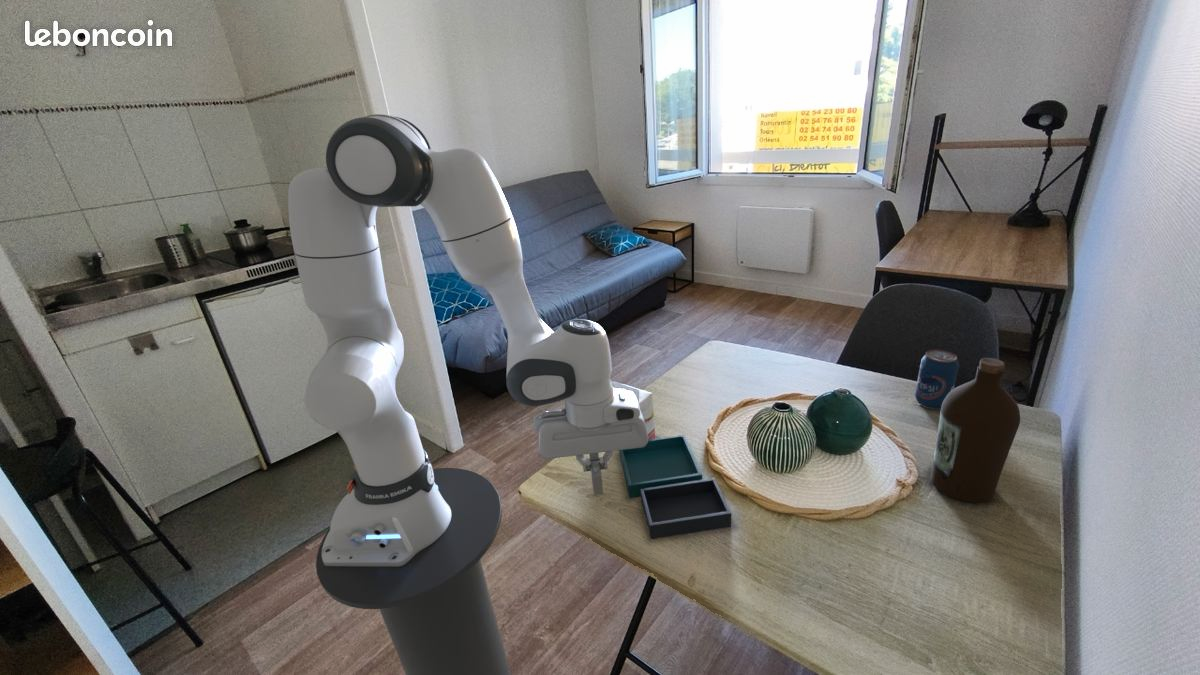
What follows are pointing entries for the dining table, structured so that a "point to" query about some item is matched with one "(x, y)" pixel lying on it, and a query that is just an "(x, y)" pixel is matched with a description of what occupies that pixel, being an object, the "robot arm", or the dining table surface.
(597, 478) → the lighter
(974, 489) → the brown bottle
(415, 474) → the robot arm
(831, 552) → the dining table surface
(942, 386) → the soda can
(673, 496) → the front tray
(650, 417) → the ink cartridge box
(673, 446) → the back tray
